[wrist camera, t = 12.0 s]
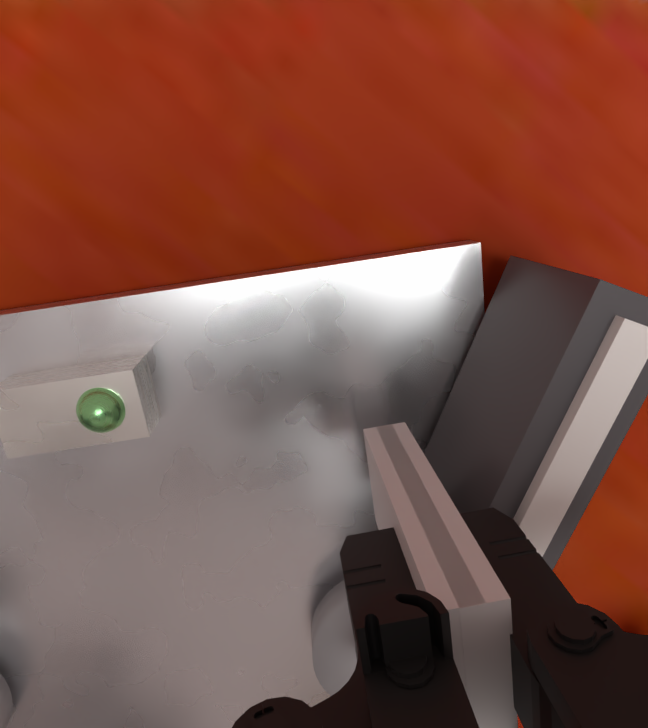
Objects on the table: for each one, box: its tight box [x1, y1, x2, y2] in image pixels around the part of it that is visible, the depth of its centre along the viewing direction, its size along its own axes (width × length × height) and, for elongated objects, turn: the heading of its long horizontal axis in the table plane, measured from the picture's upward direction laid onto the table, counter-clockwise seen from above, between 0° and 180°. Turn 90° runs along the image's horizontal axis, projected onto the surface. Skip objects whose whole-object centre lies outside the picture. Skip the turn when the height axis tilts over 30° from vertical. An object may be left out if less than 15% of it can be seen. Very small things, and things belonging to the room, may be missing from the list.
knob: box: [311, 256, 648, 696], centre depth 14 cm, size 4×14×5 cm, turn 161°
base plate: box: [0, 240, 485, 728], centre depth 16 cm, size 24×15×3 cm, turn 98°
